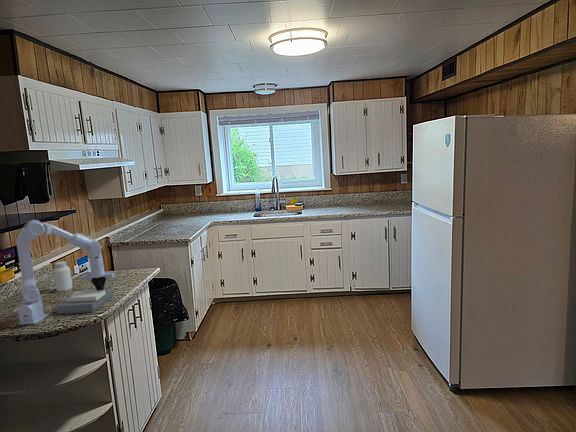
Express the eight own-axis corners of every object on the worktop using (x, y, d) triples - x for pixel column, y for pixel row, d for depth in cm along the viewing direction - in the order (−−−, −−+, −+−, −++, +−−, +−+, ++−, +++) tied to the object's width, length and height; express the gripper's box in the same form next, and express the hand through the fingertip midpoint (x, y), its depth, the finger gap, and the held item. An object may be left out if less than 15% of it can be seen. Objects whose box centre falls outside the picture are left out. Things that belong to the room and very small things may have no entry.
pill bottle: (64, 292, 207) (59, 265, 205) (52, 291, 210) (48, 264, 208) (76, 286, 215) (72, 260, 212) (65, 286, 217) (60, 260, 215)
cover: (96, 300, 179) (95, 295, 179) (66, 302, 180) (65, 297, 179) (105, 294, 187) (104, 289, 186) (76, 295, 188) (75, 290, 187)
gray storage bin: (93, 312, 176) (92, 303, 176) (58, 314, 177) (57, 306, 176) (113, 295, 196) (112, 288, 195) (81, 297, 196) (80, 290, 196)
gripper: (115, 261, 190) (119, 288, 192) (86, 263, 190) (90, 290, 192) (108, 266, 183) (113, 293, 185) (78, 268, 183) (82, 295, 185)
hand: (101, 292), depth 188 cm, fingers closed, pressing on cover
